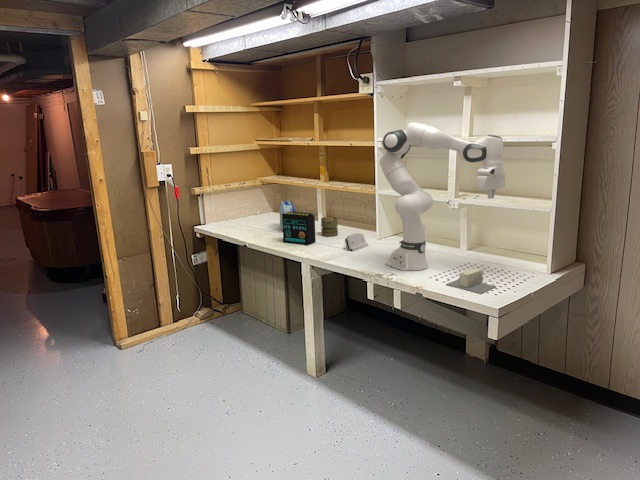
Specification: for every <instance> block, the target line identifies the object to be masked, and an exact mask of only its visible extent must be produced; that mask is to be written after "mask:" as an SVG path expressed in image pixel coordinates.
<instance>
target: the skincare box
mask: <svg viewBox="0 0 640 480" xmlns="http://www.w3.org/2000/svg"><path fill="white" fill-rule="evenodd" d="M458 279H459V286H462V287H466V288H467V287H470V286H473V285H475V284H478V283H484V281H483V279H484V269H483V268H482V269H481V268H477V267H474V268H471V269H468V270H465V271H463V272H460V273H459V278H458Z"/></svg>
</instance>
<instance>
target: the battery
mask: <svg viewBox="0 0 640 480" xmlns="http://www.w3.org/2000/svg"><path fill="white" fill-rule="evenodd" d="M315 216H316V215H314V212H313V211H309V212H299V211H296V212H293V211H290V212H287V213H286V214H285V213H284V214H282V221H283V230H282V240H283V243H285V244H295V245H303V246H310V245H313V244H315V243H316V220H315V219H316V218H315Z"/></svg>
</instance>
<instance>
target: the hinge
mask: <svg viewBox="0 0 640 480" xmlns="http://www.w3.org/2000/svg"><path fill="white" fill-rule="evenodd" d="M344 244H345V245H344V246H345V249H346V251H351V250H352V252H355V251H358V250H362V249H364V248H367V247H369V243H368V242H367V241H366V239H365V236H364V233H359V232H357V233H352V234H350V235H348V236H347V237H346V238H345V239H344Z"/></svg>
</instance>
